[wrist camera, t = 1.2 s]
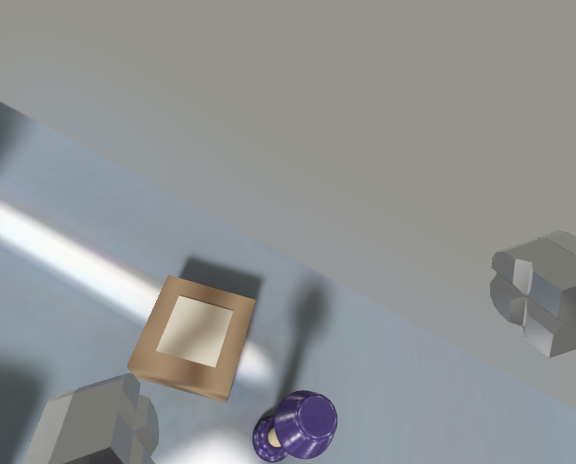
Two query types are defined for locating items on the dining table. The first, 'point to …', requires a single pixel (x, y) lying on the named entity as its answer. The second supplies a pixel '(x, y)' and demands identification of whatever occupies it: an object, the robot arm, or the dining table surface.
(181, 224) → the dining table surface
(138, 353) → the cardboard box
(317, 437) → the toy lamp
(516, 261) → the robot arm
